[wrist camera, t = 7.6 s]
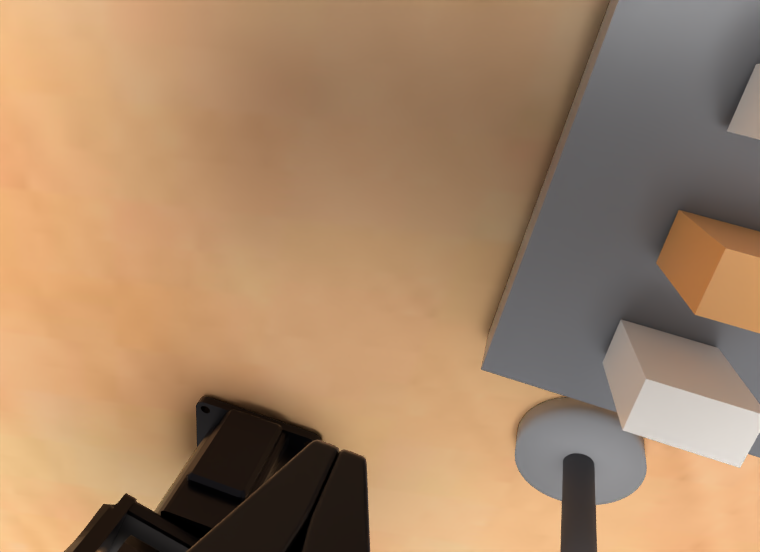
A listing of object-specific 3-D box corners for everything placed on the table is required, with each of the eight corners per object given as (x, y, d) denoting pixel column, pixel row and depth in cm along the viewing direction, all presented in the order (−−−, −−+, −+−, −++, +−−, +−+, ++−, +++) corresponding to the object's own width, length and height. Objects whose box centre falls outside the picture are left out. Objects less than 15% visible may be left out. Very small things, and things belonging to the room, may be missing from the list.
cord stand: (614, 495, 26) (631, 763, 18) (503, 458, 27) (471, 700, 19) (665, 420, 23) (711, 700, 15) (538, 381, 24) (519, 629, 16)
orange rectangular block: (764, 293, 17) (835, 355, 13) (656, 263, 17) (694, 314, 13) (791, 240, 16) (873, 289, 12) (678, 209, 16) (725, 248, 13)
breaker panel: (752, 417, 22) (766, 459, 20) (487, 335, 23) (481, 369, 21) (1075, 16, 14) (1141, 34, 12) (637, -77, 15) (645, -72, 13)
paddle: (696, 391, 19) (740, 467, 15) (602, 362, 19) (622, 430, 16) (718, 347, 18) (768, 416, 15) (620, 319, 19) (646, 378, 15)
